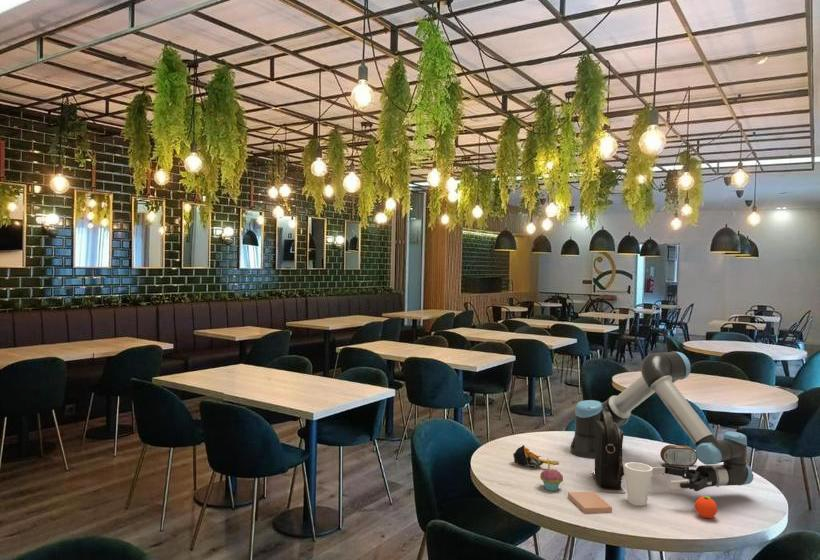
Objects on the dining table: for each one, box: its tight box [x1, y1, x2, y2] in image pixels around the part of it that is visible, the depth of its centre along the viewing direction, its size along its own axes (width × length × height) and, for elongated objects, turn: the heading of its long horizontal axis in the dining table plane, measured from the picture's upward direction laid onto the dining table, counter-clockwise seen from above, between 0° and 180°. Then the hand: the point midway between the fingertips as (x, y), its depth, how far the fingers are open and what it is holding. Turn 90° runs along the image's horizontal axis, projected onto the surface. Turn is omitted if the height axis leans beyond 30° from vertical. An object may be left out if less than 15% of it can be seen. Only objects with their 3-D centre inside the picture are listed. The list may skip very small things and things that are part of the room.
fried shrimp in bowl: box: [512, 444, 560, 469], centre depth 243 cm, size 9×11×18 cm
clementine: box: [694, 495, 718, 519], centre depth 197 cm, size 8×7×7 cm
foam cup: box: [623, 461, 653, 507], centre depth 208 cm, size 10×9×13 cm
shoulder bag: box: [590, 411, 625, 494], centre depth 227 cm, size 23×9×28 cm, turn 172°
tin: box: [659, 444, 698, 467], centre depth 249 cm, size 15×3×8 cm, turn 84°
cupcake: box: [539, 459, 564, 492], centre depth 219 cm, size 9×8×12 cm
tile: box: [567, 491, 613, 515], centre depth 205 cm, size 2×14×10 cm
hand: (659, 478), depth 209 cm, fingers open, 13 cm apart
